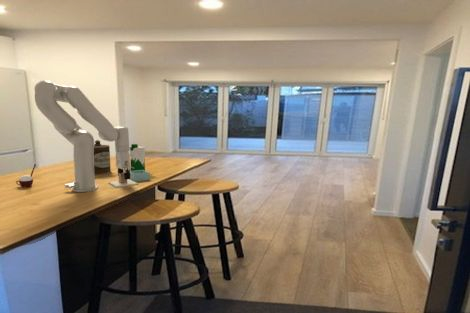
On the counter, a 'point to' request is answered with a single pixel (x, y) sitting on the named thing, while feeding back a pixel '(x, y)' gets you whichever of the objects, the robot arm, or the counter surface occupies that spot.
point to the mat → (123, 186)
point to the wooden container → (101, 158)
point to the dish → (139, 175)
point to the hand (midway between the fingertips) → (124, 177)
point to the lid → (122, 181)
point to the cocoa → (26, 179)
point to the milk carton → (137, 157)
